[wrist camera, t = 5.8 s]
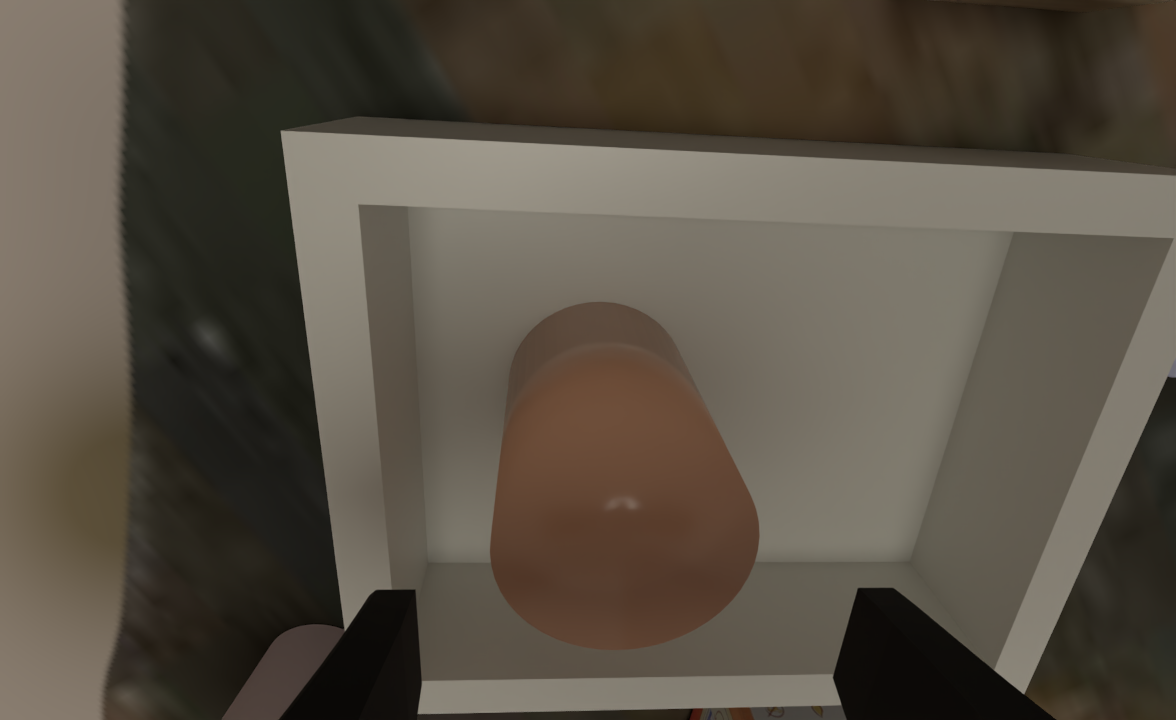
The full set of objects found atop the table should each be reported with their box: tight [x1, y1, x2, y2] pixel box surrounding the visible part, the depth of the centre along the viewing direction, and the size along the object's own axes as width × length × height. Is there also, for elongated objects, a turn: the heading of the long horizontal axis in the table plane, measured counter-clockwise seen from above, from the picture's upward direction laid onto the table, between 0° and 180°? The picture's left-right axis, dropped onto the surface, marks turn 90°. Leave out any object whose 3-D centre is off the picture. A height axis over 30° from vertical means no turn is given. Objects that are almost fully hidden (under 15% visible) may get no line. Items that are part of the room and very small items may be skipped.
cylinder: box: [490, 302, 760, 650], centre depth 15 cm, size 5×5×7 cm
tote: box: [281, 116, 1176, 714], centre depth 17 cm, size 18×14×5 cm
